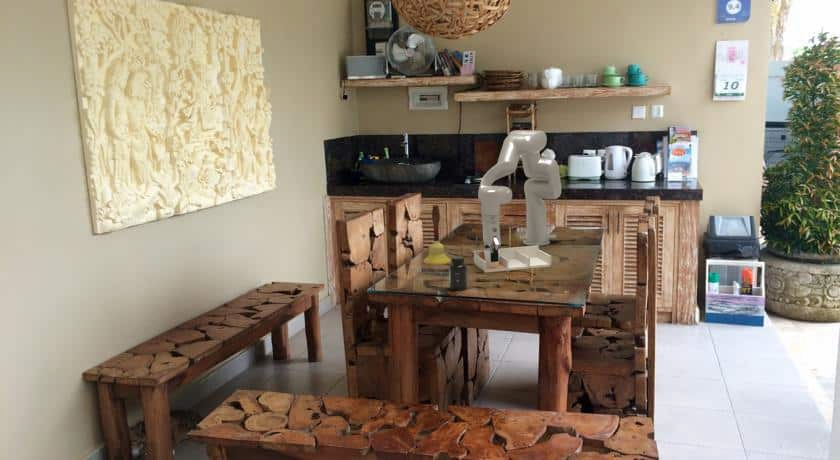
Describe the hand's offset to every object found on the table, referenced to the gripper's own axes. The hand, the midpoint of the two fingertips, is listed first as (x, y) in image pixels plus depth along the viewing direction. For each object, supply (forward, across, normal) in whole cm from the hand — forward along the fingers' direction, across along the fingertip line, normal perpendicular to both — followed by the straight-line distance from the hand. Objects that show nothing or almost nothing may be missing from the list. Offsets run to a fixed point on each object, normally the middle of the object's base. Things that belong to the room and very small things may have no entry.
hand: (491, 259), depth 300 cm
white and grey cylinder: (+3, 0, 0) cm, 3 cm away
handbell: (+4, +20, +19) cm, 28 cm away
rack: (+4, 0, -9) cm, 10 cm away
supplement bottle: (+4, -26, +22) cm, 34 cm away
